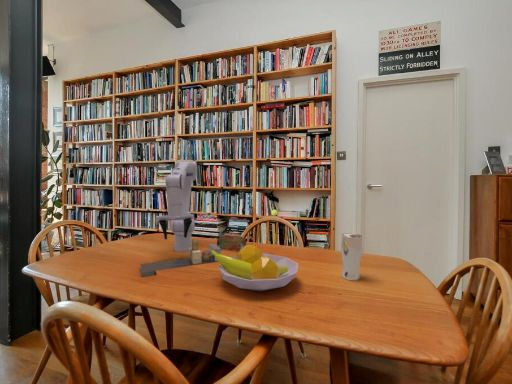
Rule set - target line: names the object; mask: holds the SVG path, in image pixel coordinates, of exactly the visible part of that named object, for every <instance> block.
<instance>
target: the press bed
mask: <svg viewBox="0 0 512 384" xmlns="http://www.w3.org/2000/svg"><path fill="white" fill-rule="evenodd" d="M208 250H209V251H210V252H211V251H212V250H214V251H215V252H216V253H217V254H221V255H222V251H221V250H222V249H221V248H220V247H218V246H217V243H209V244H208ZM213 263H219V262H218V261H217V260H216V258H215V256H214V255H213V254H212V253H211V260H208V261H204V260H202V255H201V263H199V264H193V263H192V262H191V260H190V259H189V257H186V258H178V259H170V260H162V261H155V262H154V261H153V262H148V263H147V262H146V263H140V266H139V267H140V274H141V277H142V278H143V277H149V276H155V275H158V274H157V271H164V270H170V269H176V268H177V269H178V268H185V267H193V266H198V265H206V264H207V265H208V264H213Z"/></svg>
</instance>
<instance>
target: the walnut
mask: <svg viewBox="0 0 512 384" xmlns="http://www.w3.org/2000/svg"><path fill="white" fill-rule="evenodd" d="M201 256H202V260H204V261H208V260H211V252H210V251H209V249H205V250H203V251H201Z"/></svg>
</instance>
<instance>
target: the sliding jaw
mask: <svg viewBox="0 0 512 384" xmlns="http://www.w3.org/2000/svg"><path fill="white" fill-rule="evenodd" d="M201 256H202V251H201V250H200V249H199V240H198V239H197V238H193V239H192V238H191V247H190V248H189V251H188V258H189V259H190V260H191V262H192V263H193V264H199V263H201Z"/></svg>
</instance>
